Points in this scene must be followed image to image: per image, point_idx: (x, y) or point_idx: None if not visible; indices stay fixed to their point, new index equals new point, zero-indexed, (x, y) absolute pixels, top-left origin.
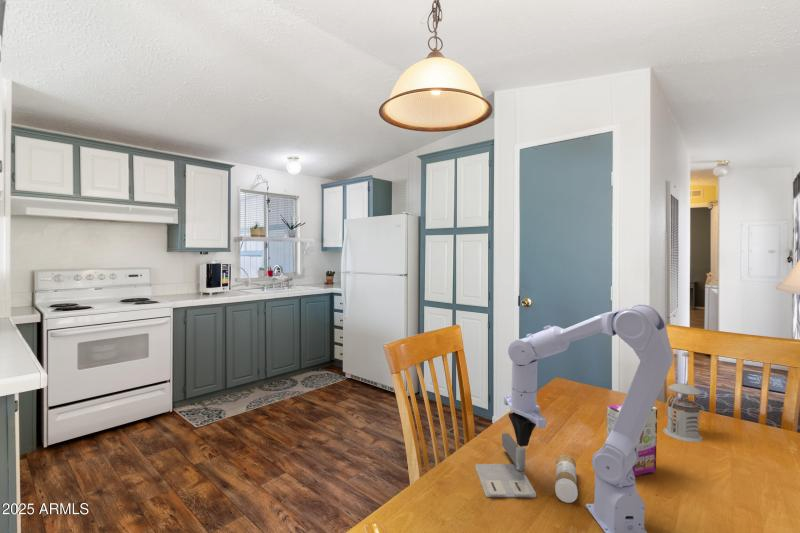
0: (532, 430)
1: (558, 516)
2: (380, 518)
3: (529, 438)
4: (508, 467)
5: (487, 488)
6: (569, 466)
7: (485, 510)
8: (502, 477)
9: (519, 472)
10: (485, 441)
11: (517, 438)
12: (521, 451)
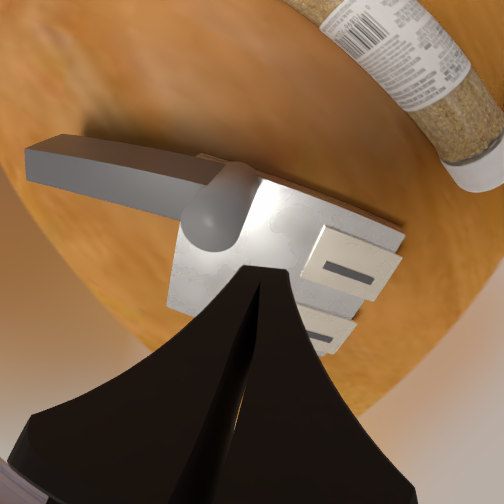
0: (328, 381)
1: (488, 229)
2: None
3: (295, 307)
4: None
5: None
6: (416, 17)
7: (363, 366)
8: None
9: (258, 198)
10: None
11: (250, 366)
12: (237, 237)
